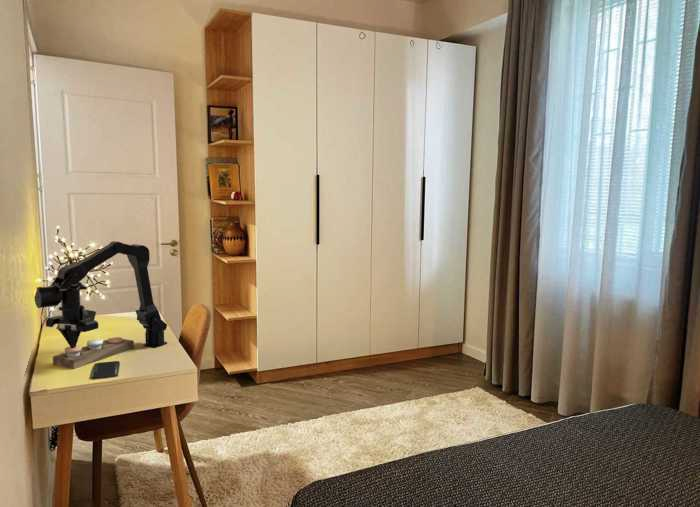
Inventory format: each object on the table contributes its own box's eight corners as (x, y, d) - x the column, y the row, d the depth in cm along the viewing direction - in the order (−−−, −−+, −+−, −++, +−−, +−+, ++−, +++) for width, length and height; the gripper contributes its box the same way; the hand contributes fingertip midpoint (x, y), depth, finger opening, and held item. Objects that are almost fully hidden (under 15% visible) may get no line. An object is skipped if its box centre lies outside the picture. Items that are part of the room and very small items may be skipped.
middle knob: (106, 350, 190) (106, 340, 190) (94, 354, 185) (94, 344, 185) (96, 348, 192) (95, 338, 192) (84, 352, 187) (83, 342, 187)
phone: (119, 360, 182) (117, 374, 168) (119, 363, 182) (118, 377, 168) (94, 363, 179) (90, 377, 165) (94, 366, 179) (90, 380, 165)
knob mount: (133, 348, 199) (133, 340, 199) (74, 368, 175) (73, 360, 175) (114, 345, 203) (113, 337, 202) (53, 364, 179) (52, 356, 179)
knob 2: (126, 347, 199) (125, 338, 198) (115, 351, 194) (114, 341, 193) (115, 346, 201) (115, 336, 200) (104, 349, 196) (104, 340, 195)
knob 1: (85, 357, 182) (85, 346, 182) (72, 361, 177) (71, 350, 177) (74, 355, 184) (74, 345, 184) (61, 359, 179) (61, 349, 179)
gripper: (110, 301, 182) (112, 345, 184) (71, 296, 189) (74, 338, 191) (83, 307, 172) (85, 353, 174) (43, 302, 179) (46, 347, 181)
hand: (73, 347), depth 180 cm, fingers closed, pressing on knob 1
